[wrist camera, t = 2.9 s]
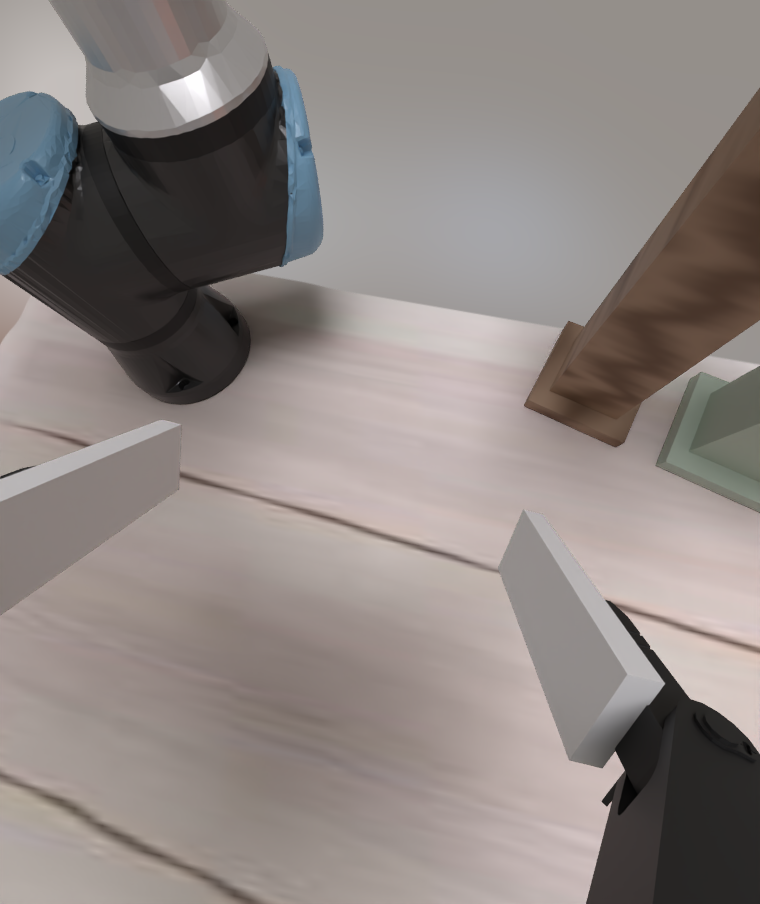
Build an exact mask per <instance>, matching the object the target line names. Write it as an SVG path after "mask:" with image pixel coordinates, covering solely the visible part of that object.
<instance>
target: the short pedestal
mask: <svg viewBox="0 0 760 904" xmlns="http://www.w3.org/2000/svg"><path fill="white" fill-rule="evenodd" d="M656 466H658V467H660V468H662V469H665V470H667V471H669V472H671V473H673V474H676V475H678V476H680V477H682V478H684V479H687V480H689V481H691V482H693V483H696V484H698V485H700V486H702V487H704V488H707V489H709V490H711V491H713V492H715V493H718V494H720V495H722V496H724V497H726V498H729V499H731V500H733V501H735V502H737V503H740V504H742V505H744V506H746V507H749V508H751V509H753V510H755V511H757V512H760V366H759V367H757V368H755V369H754V370H752V371H750V372H748V373H746V374H745V375H743V376H741V377H739V378H738V379H736V380H734V381H732V382H730V383H729V382H726V381H724V380H721V379H719V378H716V377H713V376H711V375H708V374H706V373H703V372H700V373H699V374H697V375H696V376H694V377H692V378H691V379H690V381H689V383H688V386H687V388H686V391H685V393H684V396H683V398H682V401H681V403H680V406H679V408H678V411H677V414H676V416H675V419H674V421H673V424H672V426H671V429H670V431H669V434H668V436H667V439H666V441H665V444H664V446H663V449H662V451H661V454H660V456H659V459H658V461H657V464H656Z"/></svg>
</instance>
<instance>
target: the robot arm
mask: <svg viewBox="0 0 760 904" xmlns="http://www.w3.org/2000/svg"><path fill="white" fill-rule="evenodd" d="M49 1H50V3H51V4H52V6H53V8H54V9H55V10H56V12H57V14H58V15H59V17H60V18H61V20H62V21H63V23H64V25H65V26H66V28H67V29H68V31H69V32H70V34H71V35H72V37H73V38H74V40H75V42H76V43H77V45H78V46H79V47H80V49H81V51H82V52H83V54H84V55H85V59H86V100H87V104H88V106H89V108H90V110H91V112H92V113H93V115H94V117H95V118H96V120H97V121H98V122H95V123H91V124H88V125H78V123H77V122H76V118H75V116H74V115H73V114H72V112H71V111H70V110H69V109H67V108H65V107H64V106H63V105H62V104H60V102H58V101H57V100H56V99H55V98H53V97H52V96H50V95H48V94H45V93H39V94H38V93H34V92H23V93H18V94H15V95H12V96H9V97H7V98H5V99H3V100H1V101H0V274H1V275H2V276H4V277H5V278H7V279H8V280H10V281H12V282H13V283H14V284H16V285H17V286H19V287H20V288H22V289H23V290H25V291H26V292H28V293H29V294H31V295H32V296H33V297H35V298H36V299H38V300H39V301H41V302H42V303H44V304H45V305H47V306H48V307H50V308H51V309H53V310H54V311H56V312H57V313H59V314H60V315H62V316H63V317H64V318H66V319H67V320H69V321H70V322H72V323H73V324H75V325H76V326H78V327H79V328H81V329H82V330H84V331H85V332H87V333H88V334H90V335H91V336H93V337H94V338H96V339H97V340H99V341H100V342H101V343H103V344H104V345H106V346H107V347H108V349H109V350H110V351H111V353H112V354H113V356H114V357H115V358H116V360H117V361H118V362H119V364H120V365H121V367H122V368H123V369H124V371H125V372H126V373H127V375H128V376H129V378H130V379H131V380H132V381H133V382H134V383H135V384H136V385H137V386H138V387H139V388H141V389H142V390H144V391H145V392H147V393H148V394H150V395H151V396H153V397H155V398H157V399H159V400H161V401H164V402H168V403H173V404H187V403H193V402H197V401H201V400H204V399H206V398H209V397H211V396H213V395H214V394H216V393H218V392H219V391H221V390H222V389H224V388H225V387H226V386H227V385H228V384H230V383H231V382H232V381H233V379H234V378H235V377H236V376H237V375H238V373H239V372H240V371H241V369H242V367H243V365H244V364H245V361H246V359H247V356H248V353H249V348H250V333H249V329H248V326H247V323H246V321H245V320H244V318H243V317H242V315H241V314H240V312H239V311H238V310H237V308H236V307H235V306H234V304H233V303H232V302H231V301H230V300H229V299H227V298H226V297H225V296H223V295H222V294H220V293H219V292H217V291H216V290H214V289H213V288H212V287H210V286H209V285H210V284H213V283H217V282H221V281H224V280H228V279H232V278H235V277H239V276H243V275H247V274H250V273H254V272H257V271H261V270H265V269H268V268H272V267H276V266H280V267H283V266H284V265H286V264H287V263H288V262H290V261H293V260H296V259H299V258H302V257H305V256H307V255H310V254H312V253H314V252H315V251H316V250H317V248H318V247H319V246H320V244H321V241H322V239H323V215H322V206H321V198H320V191H319V184H318V177H317V171H316V165H315V159H314V156H313V153H312V151H311V149H312V145H311V140H310V133H309V126H308V121H307V116H306V111H305V107H304V102H303V98H302V94H301V90H300V87H299V83H298V81H297V78H296V76H295V74H294V73H293V72H292V71H291V70H290V69H283V68H282V67H280V66H275V67H273V68H272V65H271V61H270V58H269V54H268V51H267V47H266V44H265V41H264V38H263V36H262V35H261V33H260V32H259V30H258V29H257V28H256V27H255V26H254V25H253V24H251V23H250V22H249V21H248V20H246V19H245V18H244V17H243V16H242V15H240V14H239V13H238V12H237V11H236V10H234V9H233V8H232V7H231V6H230V5H228V3H227V1H226V0H49ZM181 426H182V424H178V423H174V422H170V421H166V420H162V419H161V420H158V421H156V422H153V423H150V424H148V425H145V426H142V427H140V428H137V429H134V430H132V431H129V432H126V433H123V434H121V435H118V436H115V437H113V438H110V439H107V440H105V441H102V442H99V443H97V444H94V445H91V446H89V447H86V448H83V449H80V450H78V451H75V452H72V453H70V454H67V455H64V456H62V457H59V458H56V459H54V460H51V461H48V462H46V463H43V464H40V465H37V466H32V467H27V468H22V469H19V470H17V471H14V472H11V473H8V474H6V475H3V476H1V477H0V615H2V614H3V613H4V612H6V611H7V610H9V609H10V608H11V607H13V606H14V605H16V604H17V603H19V602H20V601H21V600H23V599H24V598H26V597H27V596H28V595H30V594H31V593H33V592H34V591H36V590H37V589H38V588H40V587H41V586H43V585H44V584H46V583H47V582H48V581H50V580H51V579H53V578H54V577H55V576H57V575H58V574H60V573H61V572H63V571H64V570H65V569H67V568H68V567H70V566H71V565H72V564H74V563H75V562H77V561H78V560H80V559H81V558H82V557H84V556H85V555H87V554H88V553H89V552H91V551H92V550H94V549H95V548H97V547H98V546H99V545H101V544H102V543H104V542H105V541H106V540H108V539H109V538H111V537H112V536H114V535H115V534H116V533H118V532H119V531H121V530H122V529H123V528H125V527H126V526H128V525H129V524H131V523H132V522H133V521H135V520H136V519H138V518H139V517H141V516H142V515H143V514H145V513H146V512H148V511H149V510H150V509H152V508H153V507H155V506H156V505H158V504H159V503H160V502H162V501H163V500H165V499H166V498H167V497H169V496H170V495H172V494H173V493H175V492H176V491H177V490H179V480H180V453H181ZM498 569H499V572H500V575H501V577H502V580H503V583H504V586H505V588H506V591H507V594H508V596H509V599H510V602H511V604H512V607H513V610H514V613H515V615H516V618H517V621H518V623H519V626H520V629H521V631H522V634H523V637H524V639H525V642H526V645H527V648H528V650H529V653H530V656H531V658H532V661H533V664H534V666H535V669H536V672H537V675H538V677H539V680H540V683H541V685H542V688H543V691H544V693H545V696H546V699H547V702H548V704H549V707H550V710H551V712H552V715H553V718H554V720H555V723H556V726H557V728H558V731H559V734H560V737H561V739H562V742H563V745H564V747H565V750H566V753H567V755H568V758H569V760H571V761H575V762H579V763H583V764H587V765H591V766H595V767H599V768H603V767H604V765H605V764H606V763H607V761H608V760H609V759H610V757H611V756H612V755H613V753H614V752H615V751H616V753H617V755H618V757H619V759H620V761H621V763H622V765H623V767H624V769H625V771H624V773H623V774H622V775H621V777H620V778H619V779H618V780H617V782H616V783H615V784H614V786H613V787H612V788H611V789H610V791H609V792H608V793H607V795H606V796H605V797H604V799H603V800H602V801H601V802H603V803H604V804H605V805H606V806H608V805H609V803H610V802H611V801H612V804H611V808H610V812H609V816H608V820H607V824H606V828H605V832H604V836H603V839H602V843H601V847H600V851H599V855H598V859H597V863H596V867H595V871H594V875H593V879H592V883H591V886H590V890H589V894H588V898H587V902H586V904H760V754H759V752H758V751H757V750H756V748H755V747H754V746H753V744H752V743H751V742H750V740H749V739H748V738H747V737H746V736H745V735H744V734H743V733H742V732H741V731H740V730H739V729H738V728H737V727H736V726H735V725H734V724H733V723H732V722H730V721H729V720H728V719H726V718H725V717H724V716H722V715H721V714H720V713H718V712H717V711H715V710H713V709H712V708H710V707H708V706H706V705H705V704H703V703H700V702H697V701H694V700H691V699H690V698H689V697H688V696H687V694H686V693H685V692H684V690H683V689H682V688H681V686H680V685H679V684H678V683H677V681H676V680H675V679H674V677H673V676H672V675H671V673H670V672H669V671H668V669H667V668H666V667H665V665H664V664H663V663H662V661H661V660H660V659H659V657H658V656H657V655H656V653H655V652H654V651H653V650H650V646H649V644H648V643H647V642H646V640H645V639H644V638H643V636H640V632H639V631H638V630H637V628H636V627H635V626H634V624H633V623H632V622H631V620H630V619H629V618H628V617H627V616H626V615H625V614H624V613H623V612H622V611H621V610H620V609H619V608H617V607H616V606H615V605H614V604H613V603H612V602H611V601H607V600H605V599H604V598H603V597H602V595H601V594H600V592H599V591H598V590H597V588H596V587H595V585H594V584H593V583H592V581H591V580H590V579H589V577H588V576H587V574H586V573H585V572H584V570H583V569H582V567H581V566H580V565H579V563H578V562H577V560H576V559H575V558H574V556H573V555H572V554H571V552H570V551H569V549H568V548H567V547H566V545H565V544H564V542H563V541H562V540H561V538H560V537H559V535H558V534H557V533H556V531H555V530H554V528H553V527H552V526H551V524H550V523H549V522H548V520H547V519H546V517H545V516H544V515H543V514H540V513H536V512H532V511H528V510H524V509H523V512H522V514H521V516H520V519H519V521H518V523H517V525H516V528H515V530H514V532H513V535H512V537H511V539H510V542H509V544H508V546H507V549H506V551H505V553H504V556H503V558H502V560H501V563H500V565H499V567H498Z"/></svg>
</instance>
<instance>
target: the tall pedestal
mask: <svg viewBox="0 0 760 904" xmlns="http://www.w3.org/2000/svg"><path fill="white" fill-rule="evenodd" d="M759 320H760V88H759V90H758V91H757V92H756V94H755V95H754V96H753V98H752V99H751V101H750V102H749V103H748V105H747V106H746V107H745V109H744V110H743V111H742V113H741V114H740V115H739V117H738V118H737V120H736V121H735V122H734V124H733V125H732V126H731V128H730V129H729V131H728V132H727V133H726V134H725V136H724V137H723V139H722V140H721V141H720V143H719V144H718V145H717V147H716V148H715V149H714V151H713V152H712V154H711V155H710V156H709V158H708V159H707V160H706V162H705V163H704V164H703V166H702V167H701V169H700V170H699V171H698V173H697V174H696V176H695V177H694V178H693V179H692V181H691V182H690V184H689V185H688V186H687V188H686V189H685V190H684V192H683V193H682V194H681V196H680V197H679V199H678V200H677V201H676V203H675V204H674V206H673V207H672V208H671V209H670V211H669V212H668V214H667V215H666V216H665V218H664V219H663V220H662V222H661V223H660V225H659V226H658V227H657V229H656V230H655V231H654V233H653V234H652V235H651V237H650V238H649V240H648V241H647V242H646V244H645V245H644V247H643V248H642V249H641V250H640V252H639V253H638V254H637V256H636V257H635V259H634V260H633V261H632V263H631V264H630V265H629V267H628V268H627V270H626V271H625V272H624V274H623V275H622V276H621V278H620V279H619V280H618V282H617V283H616V284H615V286H614V287H613V288H612V290H611V291H610V293H609V294H608V296H607V297H606V298H605V299H604V301H603V302H602V303H601V305H600V306H599V308H598V309H597V310H596V312H595V313H594V314H593V316H592V317H591V319H590V320H589V321H588V323H587V324H586V325H585V327H583V326H581V325H578V324H575V323H573V322H570V321H568V323H567V324H566V326H565V327H564V329H563V331H562V333H561V334H560V336H559V338H558V340H557V342H556V344H555V346H554V348H553V350H552V352H551V354H550V356H549V358H548V360H547V362H546V364H545V366H544V368H543V369H542V371H541V373H540V375H539V377H538V379H537V381H536V383H535V385H534V387H533V389H532V391H531V393H530V395H529V397H528V399H527V401H526V403H525V404H524V406H525V407H528V408H530V409H532V410H534V411H536V412H539V413H541V414H543V415H545V416H547V417H550V418H552V419H554V420H556V421H559V422H561V423H563V424H565V425H567V426H570V427H572V428H574V429H576V430H578V431H581V432H583V433H585V434H587V435H589V436H592V437H594V438H596V439H598V440H601V441H603V442H605V443H607V444H609V445H612V446H614V447H617V446H619V445H621V444H623V443H624V442H625V439H626V437H627V435H628V432H629V430H630V428H631V425H632V423H633V421H634V418H635V416H636V414H637V411H638V409H639V407H640V404H641V402H642V401H644V400H645V399H647V398H648V397H650V396H651V395H652V394H654V393H655V392H657V391H658V390H660V389H661V388H663V387H664V386H665V385H667V384H668V383H670V382H671V381H673V380H674V379H676V378H677V377H678V376H680V375H681V374H683V373H684V372H686V371H687V370H689V369H690V368H691V367H693V366H694V365H696V364H697V363H699V362H700V361H702V360H703V359H704V358H706V357H707V356H709V355H710V354H712V353H713V352H715V351H716V350H717V349H719V348H720V347H722V346H723V345H724V344H726V343H727V342H729V341H730V340H732V339H733V338H735V337H736V336H738V335H739V334H740V333H742V332H743V331H745V330H746V329H748V328H749V327H750V326H752V325H753V324H755V323H756V322H758V321H759Z"/></svg>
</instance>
